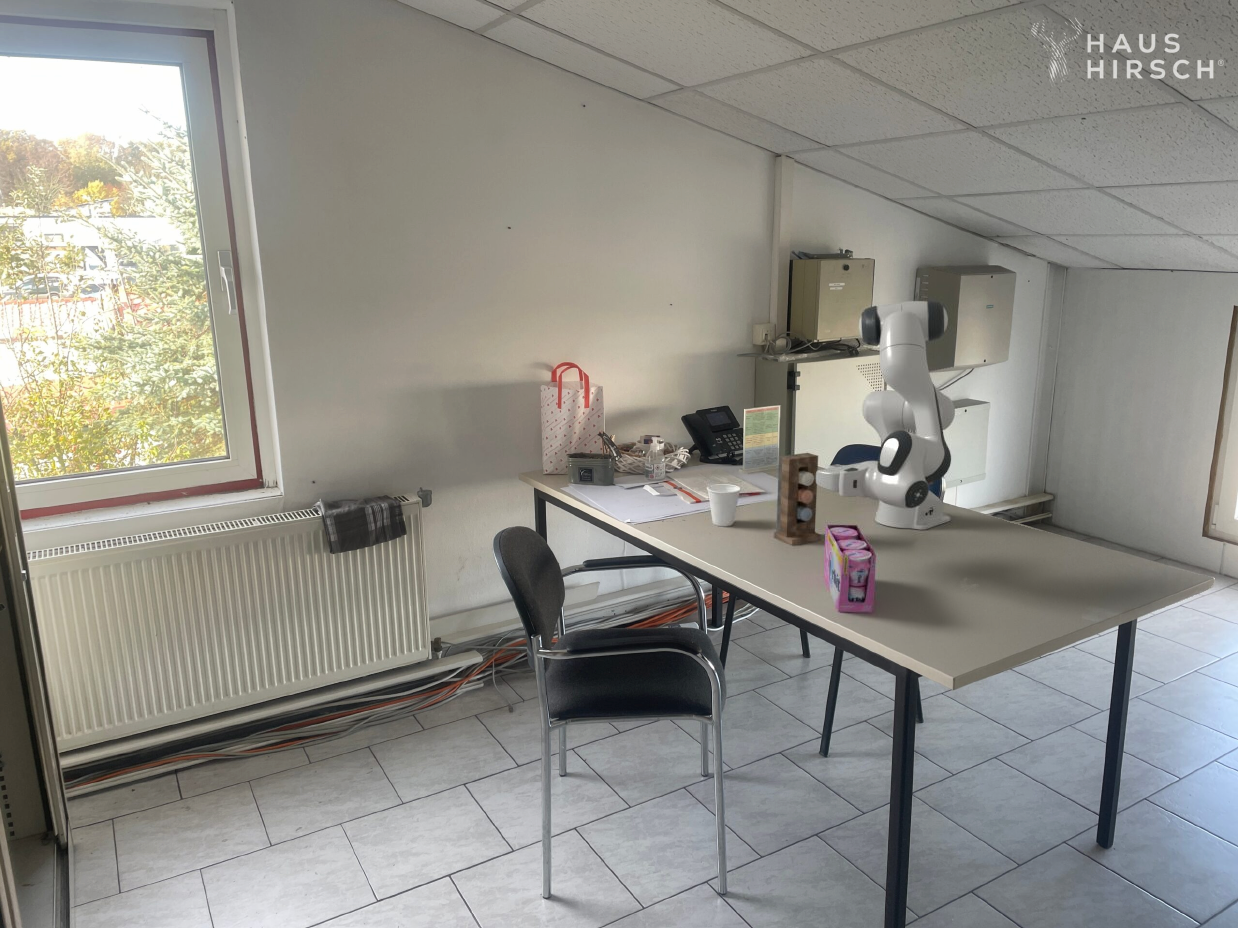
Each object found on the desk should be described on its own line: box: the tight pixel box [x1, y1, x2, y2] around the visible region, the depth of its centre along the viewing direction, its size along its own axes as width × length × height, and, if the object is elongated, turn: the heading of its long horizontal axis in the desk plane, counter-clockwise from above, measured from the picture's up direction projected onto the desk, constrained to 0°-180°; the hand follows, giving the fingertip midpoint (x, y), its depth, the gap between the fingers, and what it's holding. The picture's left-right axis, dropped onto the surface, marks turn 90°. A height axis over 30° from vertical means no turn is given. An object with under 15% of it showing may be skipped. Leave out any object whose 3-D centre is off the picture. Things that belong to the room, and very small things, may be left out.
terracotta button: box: [797, 488, 813, 504], centre depth 237 cm, size 4×4×4 cm
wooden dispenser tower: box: [773, 452, 822, 546], centre depth 239 cm, size 10×8×24 cm
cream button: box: [798, 471, 814, 486], centre depth 236 cm, size 4×4×4 cm
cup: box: [706, 483, 742, 528], centre depth 255 cm, size 10×10×11 cm
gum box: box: [823, 524, 877, 614], centre depth 199 cm, size 24×8×14 cm, turn 175°
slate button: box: [797, 506, 812, 521], centre depth 238 cm, size 4×4×4 cm
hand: (832, 467), depth 227 cm, fingers closed
